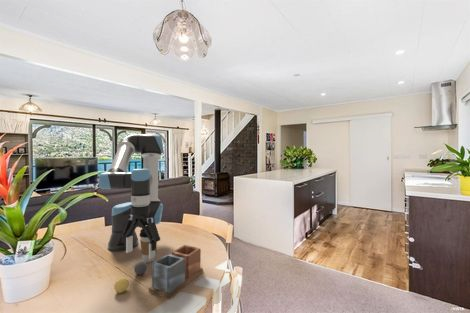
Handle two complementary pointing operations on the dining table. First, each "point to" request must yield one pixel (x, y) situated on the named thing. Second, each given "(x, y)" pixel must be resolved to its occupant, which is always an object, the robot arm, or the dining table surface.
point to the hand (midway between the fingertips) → (140, 254)
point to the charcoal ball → (140, 268)
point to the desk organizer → (175, 271)
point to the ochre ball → (121, 284)
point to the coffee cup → (145, 247)
